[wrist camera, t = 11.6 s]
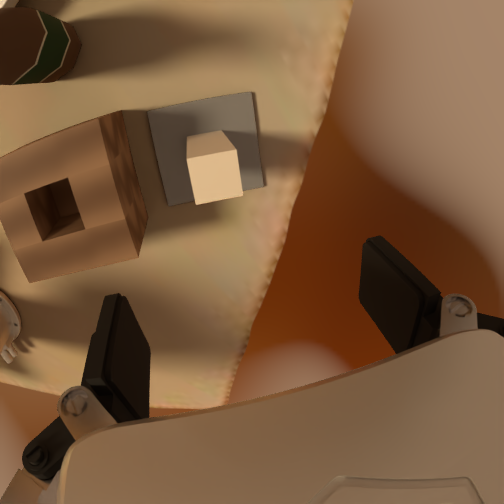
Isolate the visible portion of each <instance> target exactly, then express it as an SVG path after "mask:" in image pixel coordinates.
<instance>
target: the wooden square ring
mask: <svg viewBox="0 0 504 504" xmlns="http://www.w3.org/2000/svg"><path fill="white" fill-rule="evenodd" d="M0 220H1V223H2V225H3V228H4V230H5V232H6V235H7V237H8V239H9V242H10V244H11V246H12V248H13V251H14V253H15V255H16V257H17V259H18V261H19V263H20V265H21V267H22V270H23V272H24V273H25V275H26V277H27V279H28V281H29V283H33V282H37V281H41V280H45V279H49V278H54V277H58V276H62V275H66V274H70V273H75V272H79V271H83V270H87V269H92V268H96V267H100V266H105V265H109V264H113V263H118V262H122V261H126V260H131V259H135V258H139V253H140V249H141V244H142V240H143V236H144V232H145V228H146V224H147V220H148V215H147V212H146V208H145V205H144V201H143V198H142V194H141V190H140V187H139V183H138V179H137V175H136V171H135V167H134V163H133V159H132V155H131V151H130V147H129V143H128V138H127V134H126V129H125V125H124V120H123V116H122V111H121V110H120V111H117V112H113V113H110V114H107V115H104V116H100V117H97V118H94V119H91V120H88V121H85V122H82V123H80V124H77V125H74V126H71V127H69V128H66V129H63V130H61V131H58V132H55V133H53V134H50V135H48V136H45V137H43V138H41V139H38V140H36V141H34V142H31V143H29V144H27V145H24V146H22V147H20V148H18V149H16V150H14V151H12V152H10V153H8V154H6V155H4V156H2V157H0Z"/></svg>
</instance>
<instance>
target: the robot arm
mask: <svg viewBox="0 0 504 504" xmlns="http://www.w3.org/2000/svg"><path fill="white" fill-rule="evenodd" d="M440 294H441V292H440V291H439V290H438V289H437V288H436V287H435V286H434V285H433V284H432V283H431V282H430V281H429V280H428V279H427V278H426V277H425V276H424V275H423V274H422V273H421V272H420V271H419V270H418V269H417V268H416V267H415V266H414V265H413V264H412V263H410V262H409V261H408V260H407V259H406V258H405V257H404V256H403V255H402V254H401V253H399V251H398V250H396V249H395V248H394V247H393V246H392V245H391V244H390V243H389V242H387V241H386V240H385V239H384V238H383V237H382V236H376V237H372V238H368V239H367V240H366V243H364V244H363V250H362V265H361V276H360V288H359V300H360V303H361V304H362V306H363V307H364V308H365V310H366V311H367V312H368V314H369V315H370V317H371V318H372V320H373V321H374V322H375V323H376V325H377V327H378V328H379V330H380V331H381V332H382V334H383V335H384V337H385V338H386V340H387V341H388V342H389V344H390V345H391V347H392V348H393V350H394V351H395V353H396V354H395V355H393V356H390V357H388V358H385V359H383V360H380V361H377V362H375V363H372V364H369V365H367V366H364V367H361V368H358V369H355V370H352V371H349V372H346V373H343V374H340V375H338V376H334V377H331V378H328V379H325V380H321V381H318V382H315V383H311V384H308V385H305V386H301V387H298V388H294V389H290V390H287V391H283V392H279V393H275V394H271V395H268V396H263V397H259V398H255V399H251V400H246V401H242V402H237V403H233V404H228V405H223V406H218V407H213V408H208V409H202V410H196V411H190V412H185V413H179V414H173V415H166V416H159V417H153V418H149V387H150V355H151V352H150V347H149V344H148V342H147V340H146V338H145V336H144V334H143V332H142V330H141V328H140V326H139V324H138V322H137V320H136V317H135V315H134V313H133V311H132V309H131V307H130V304H129V302H128V300H127V298H126V297H125V296H121V294H119V293H118V294H113V295H108V296H105V298H104V301H103V305H102V309H101V312H100V316H99V320H98V324H97V328H96V332H95V333H93V335H92V337H91V341H90V346H89V350H88V354H87V358H86V363H85V368H84V372H83V377H82V382H81V386H74V387H71V388H69V389H68V390H66V391H65V392H64V393H63V394H62V395H61V397H60V398H59V401H58V404H57V411H58V413H59V417H58V418H57V419H55V420H54V421H53V422H52V423H51V424H50V425H49V426H48V427H47V428H46V429H44V430H43V431H42V432H41V433H40V434H39V435H38V436H37V437H36V438H34V439H33V440H32V441H31V442H30V443H29V444H28V445H27V446H26V447H25V449H24V452H23V456H22V461H23V465H24V468H23V469H22V470H20V469H18V471H17V472H16V474H15V476H14V477H13V479H12V481H11V482H10V484H9V486H8V487H7V489H6V491H5V493H4V494H3V496H2V498H1V500H0V504H504V319H502V318H498V317H493V316H489V315H485V314H481V313H477V312H476V307H475V304H474V303H473V301H471V300H470V299H469V298H467V297H466V296H464V295H460V294H450V295H447V296H446V297H444V298H443V297H442V296H441V295H440ZM20 331H21V319H20V316H19V313H18V311H17V309H16V308H15V306H14V304H13V303H12V302H11V300H10V299H9V298H8V297H7V296H6V295H5V294H4V293H3V292H1V291H0V355H2V357H3V359H4V360H5V361H6V362H7V363H8V364H9V363H11V362H12V361H13V357H16V356H17V355H18V353H17V351H16V350H15V348H14V347H13V346H12V341H13V340H14V339H16V338H17V337H18V335H19V333H20ZM7 349H8V350H7Z"/></svg>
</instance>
